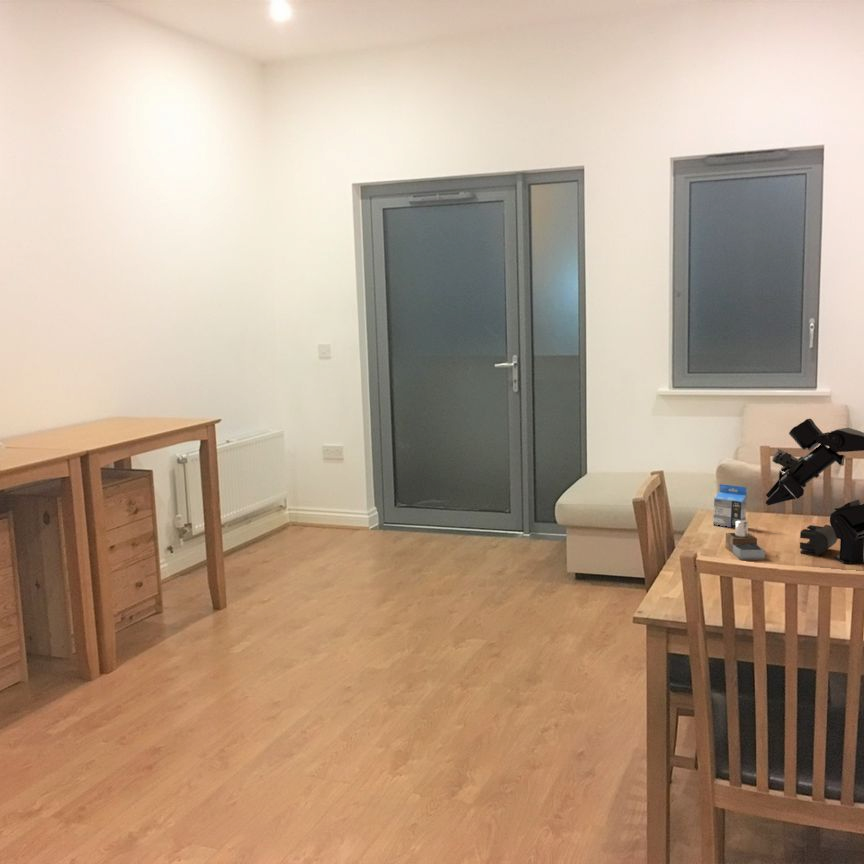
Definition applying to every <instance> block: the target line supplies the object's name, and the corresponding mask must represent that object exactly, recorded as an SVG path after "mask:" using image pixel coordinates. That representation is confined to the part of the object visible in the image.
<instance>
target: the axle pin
mask: <svg viewBox="0 0 864 864" xmlns="http://www.w3.org/2000/svg"><path fill="white" fill-rule="evenodd" d="M748 527H749V521H748V520H747V519H746V520H736V522H735V528H734V533H735V538H747V537H748V533H749V532H748V531H749V529H748Z"/></svg>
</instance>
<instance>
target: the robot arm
mask: <svg viewBox="0 0 864 864" xmlns="http://www.w3.org/2000/svg"><path fill="white" fill-rule="evenodd" d="M788 435H789V436H790V437H791V438H792V439H793V441H795V443H796V444H797V445H798V446H799V447H800V448H801V450H803V451H805V450H807V451H810V452H809V453H808V454H806V455H805V456H800V457H799V458H797V457H795V456H794V455H792V454H791V453H789V452H788V451H784V450H783V449H780V448H778V449H777V450H776V452H775V453H774V455H773V457H772V462H773V463H775V464H777V465H780V466H781V467H780V470H779V473H778V479H777V481H776V482H775V483H774V484H773V485H772V486H771V488H770V489H769V490H768V491H767V492H766V494H765V496H766V497H767V498H768V499H766V501H765V504H766V506H771V505H776V504H779V503H784V502H786V501H791V500H796V499H800V498H801V497H802V496H804V492H805V487H807V484H808V483H810V481H813V480H814V478H816V479H817V478H819V477H820V474H821V473H823V472H824V471H825V470H826V469H828V468H829V467H830V466H832V465H833V464H834V463H837V464H838V465H839V466H842V467H844V466H845V458H846V455H844V454H840V453H849V452H863V451H864V432H863V431H860V430H857V429H855V428H850V427H842V428H838V429H833V430H831V431H827V432H823V431H822V430H820V428H819V427H818V426H817V425H816V423H815V422H814V420H813V419H812V418H806V419H805V420H804V421H802V422H800V423H799V424H797V425H796V426H794V427H792V428H791V429H790V431H789V432H788ZM829 523H830V526H832V528H833V529H834V531H835V535H836V538H837V540H840V543H839V554H836V555H835V554H834V556H833V557H834V558H835V559H837V561H840V562H841V563H843V564H864V503H861V502H860V499H855V500H852V501H849V502H847V503H846V504H843V505H841V506H837V507H835V508H834V511H833V512H831V514H830V517H829Z"/></svg>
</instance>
